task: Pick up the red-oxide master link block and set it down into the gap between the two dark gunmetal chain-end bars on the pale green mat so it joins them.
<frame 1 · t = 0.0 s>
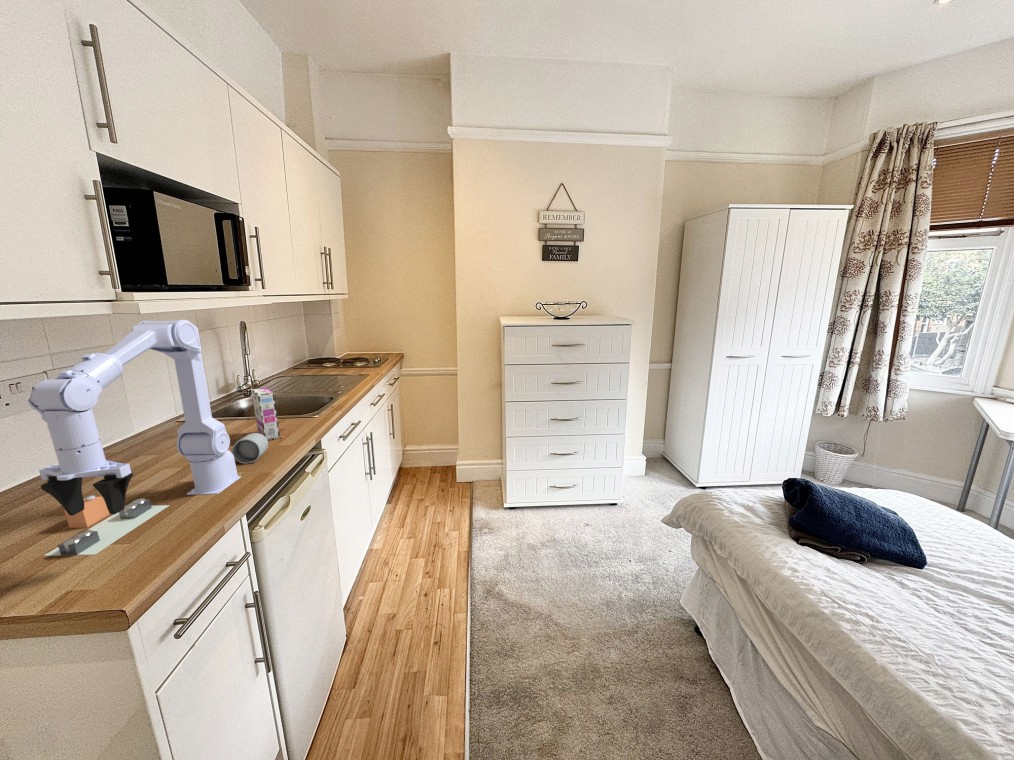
hand: (97, 512, 75), 10 cm above the counter, tool pointing down, fingers open, 7 cm apart
chain end A: (136, 513, 92), resting on mat
chain end B: (80, 547, 80), resting on mat
mat: (113, 529, 87), on the counter
ceramic mug: (248, 460, 122), on the counter
candy bar box: (269, 436, 142), on the counter
master link: (90, 522, 90), on the counter
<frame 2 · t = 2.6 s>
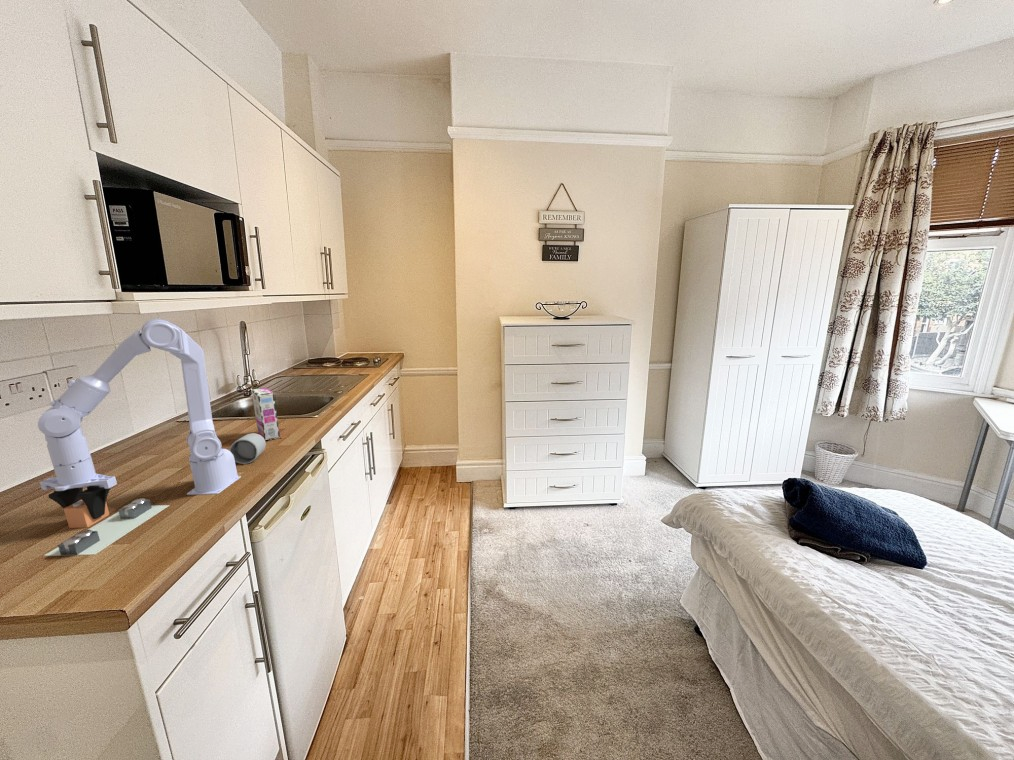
hand: (88, 516, 90), 1 cm above the counter, tool pointing down, fingers closed on master link, 4 cm apart
master link: (90, 522, 90), on the counter, touching gripper
when the fingers open (3 cm above the counter, at t = 5.3 s): master link stays where it is, resting on mat.
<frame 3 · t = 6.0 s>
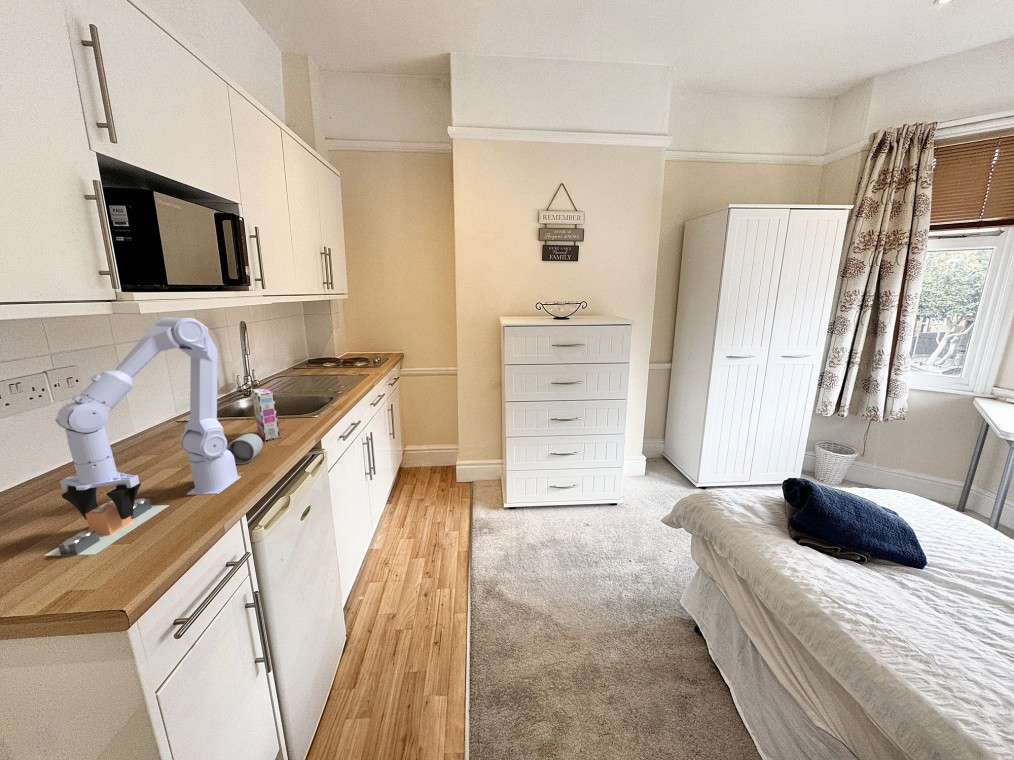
hand: (109, 517, 86), 3 cm above the counter, tool pointing down, fingers open, 7 cm apart
master link: (112, 528, 87), resting on mat
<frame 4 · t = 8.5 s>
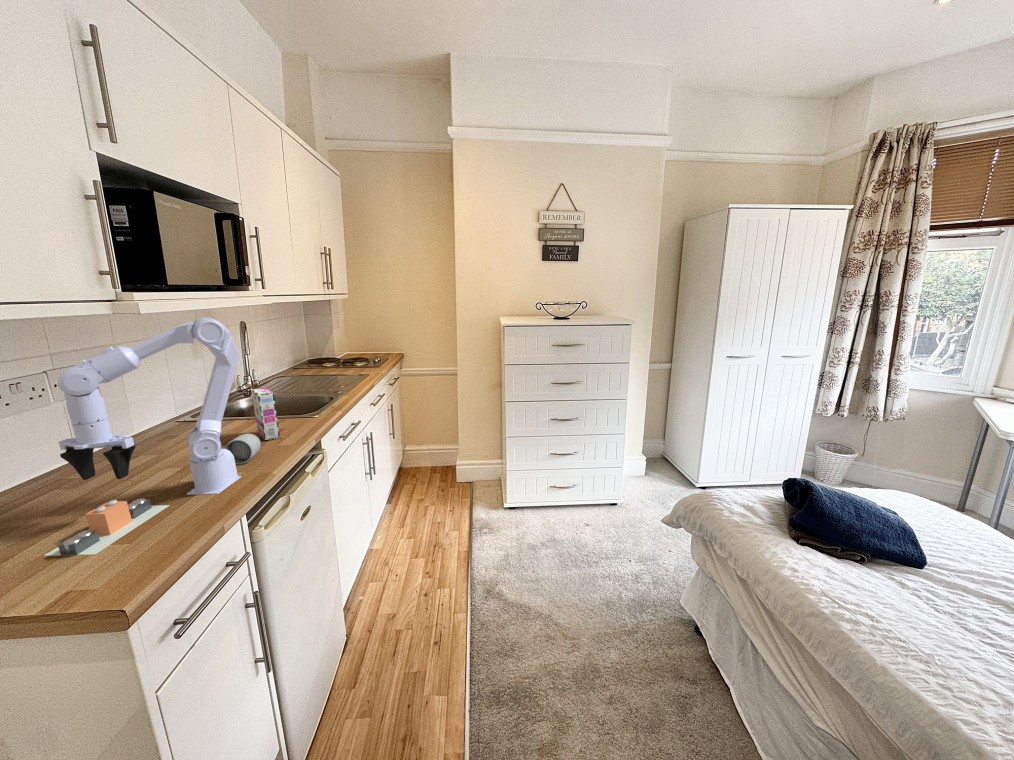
hand: (106, 477, 91), 9 cm above the counter, tool pointing down, fingers open, 7 cm apart
at the end: master link 0.1 cm from the target spot, resting on mat; master link tilted 0°; the gripper is holding nothing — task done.
